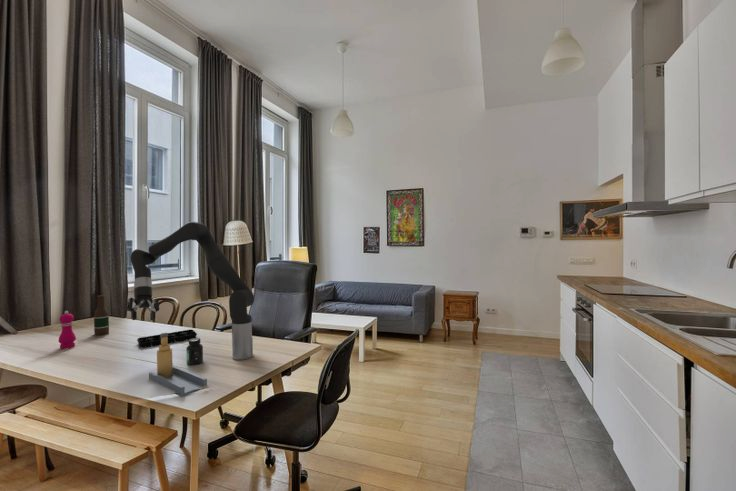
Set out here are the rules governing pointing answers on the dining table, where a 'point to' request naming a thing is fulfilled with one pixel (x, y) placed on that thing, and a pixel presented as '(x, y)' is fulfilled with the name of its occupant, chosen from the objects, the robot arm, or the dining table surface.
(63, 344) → the pepper mill
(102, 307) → the beer bottle
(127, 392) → the dining table surface
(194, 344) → the supplement bottle
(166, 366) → the bottle
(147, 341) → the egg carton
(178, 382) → the cradle
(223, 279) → the robot arm
